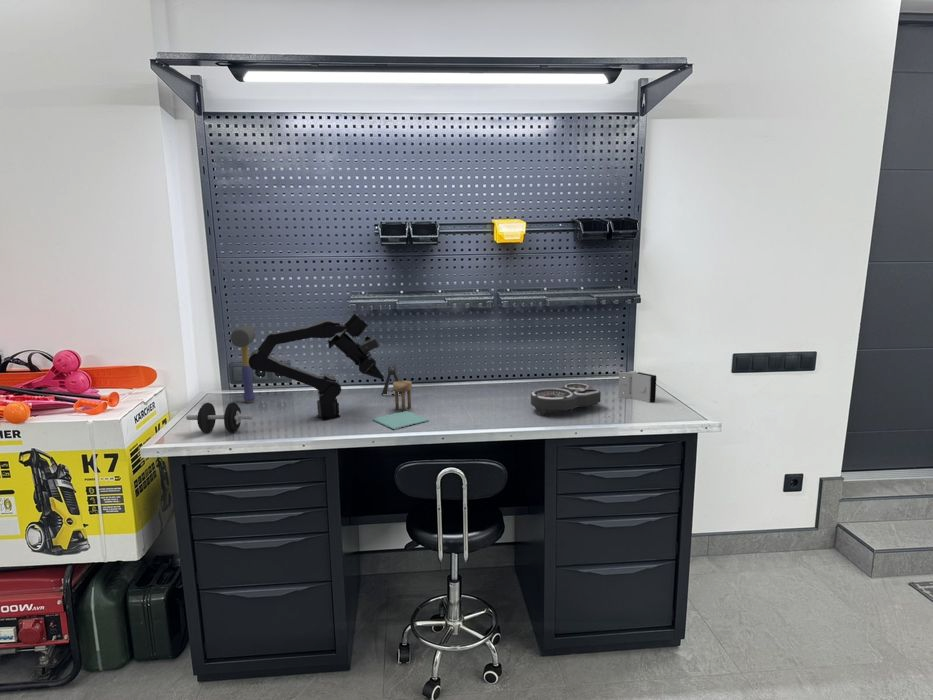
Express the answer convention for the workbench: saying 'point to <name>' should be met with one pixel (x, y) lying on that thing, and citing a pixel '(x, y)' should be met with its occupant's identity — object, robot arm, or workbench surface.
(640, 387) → the hinge
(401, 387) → the walnut stool
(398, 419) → the rubber mat
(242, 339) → the rubber mallet
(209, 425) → the dumbbell
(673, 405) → the workbench surface
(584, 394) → the motorcycle dashboard
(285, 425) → the workbench surface
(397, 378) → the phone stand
